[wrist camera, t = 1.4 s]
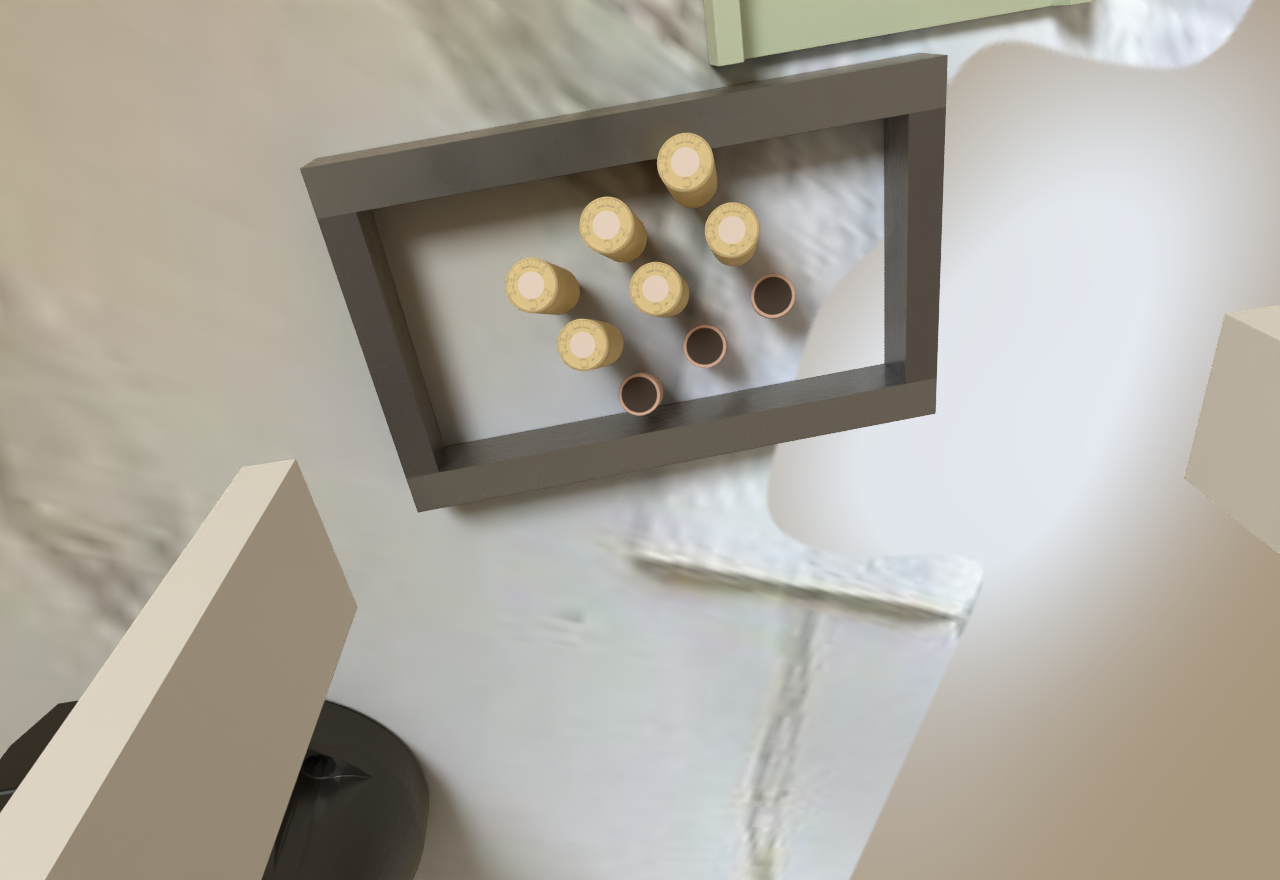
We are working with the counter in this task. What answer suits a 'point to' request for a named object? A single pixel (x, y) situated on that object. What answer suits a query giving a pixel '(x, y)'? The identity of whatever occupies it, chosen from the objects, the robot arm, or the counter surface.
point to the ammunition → (649, 273)
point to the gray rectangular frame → (623, 136)
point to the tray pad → (833, 21)
